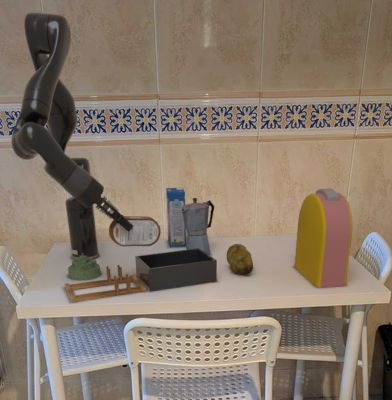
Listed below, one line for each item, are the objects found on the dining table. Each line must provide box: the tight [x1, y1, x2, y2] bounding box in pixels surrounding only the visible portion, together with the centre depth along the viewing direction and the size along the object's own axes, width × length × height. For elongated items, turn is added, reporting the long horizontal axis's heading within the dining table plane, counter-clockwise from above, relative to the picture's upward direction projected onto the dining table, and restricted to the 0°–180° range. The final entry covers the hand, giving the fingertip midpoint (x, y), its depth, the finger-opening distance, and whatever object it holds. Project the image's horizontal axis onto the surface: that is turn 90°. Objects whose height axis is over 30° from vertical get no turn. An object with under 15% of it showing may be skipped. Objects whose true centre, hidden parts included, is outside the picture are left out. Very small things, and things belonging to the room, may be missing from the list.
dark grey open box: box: [134, 248, 218, 292], centre depth 154 cm, size 14×21×7 cm
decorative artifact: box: [67, 253, 101, 281], centre depth 159 cm, size 10×7×10 cm
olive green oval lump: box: [226, 243, 254, 276], centre depth 160 cm, size 8×13×8 cm, turn 178°
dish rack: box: [63, 264, 147, 303], centre depth 147 cm, size 13×22×5 cm, turn 112°
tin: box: [108, 215, 162, 247], centre depth 145 cm, size 15×3×8 cm, turn 111°
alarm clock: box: [294, 188, 354, 289], centre depth 151 cm, size 21×9×26 cm, turn 9°
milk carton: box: [165, 187, 187, 248], centre depth 188 cm, size 10×6×20 cm, turn 6°
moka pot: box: [181, 197, 215, 256], centre depth 175 cm, size 10×15×20 cm, turn 137°
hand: (129, 227), depth 143 cm, fingers closed on tin, 2 cm apart
